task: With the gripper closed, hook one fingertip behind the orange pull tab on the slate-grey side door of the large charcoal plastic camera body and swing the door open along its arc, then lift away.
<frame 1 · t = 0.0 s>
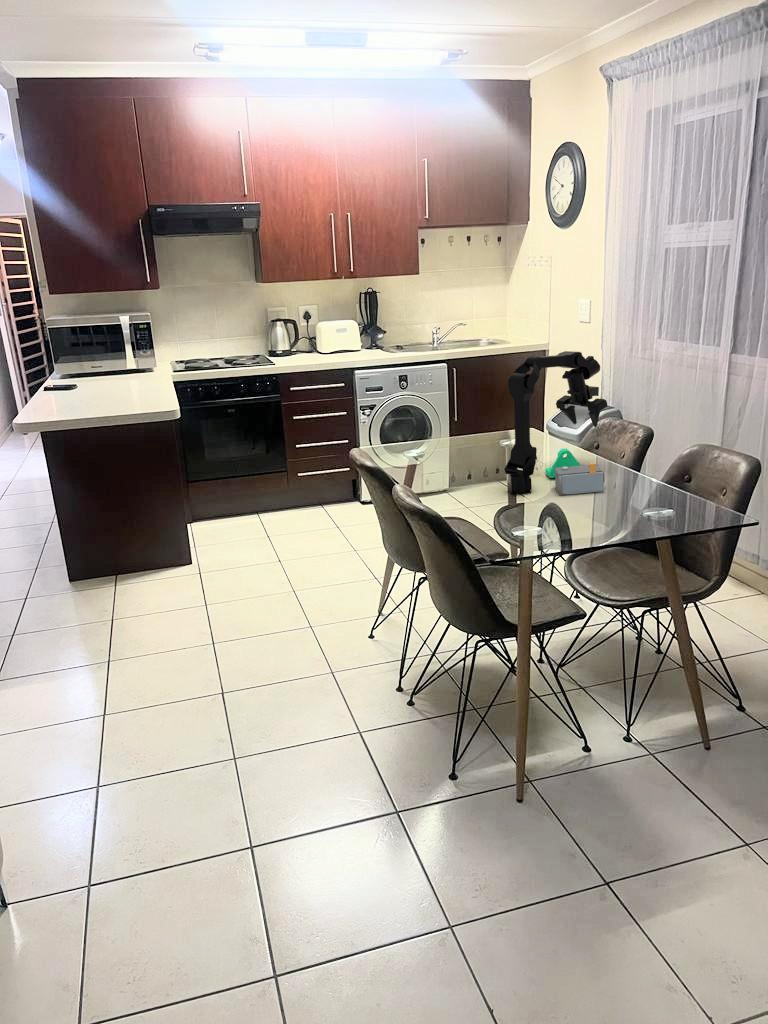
hand: (585, 425, 269), 15 cm above the table, tool pointing down, fingers open, 9 cm apart
camera body: (578, 489, 251), on the table
side door: (580, 478, 245), point 5 cm above the table, hinge at 0.0°
camera mount: (564, 476, 268), on the table
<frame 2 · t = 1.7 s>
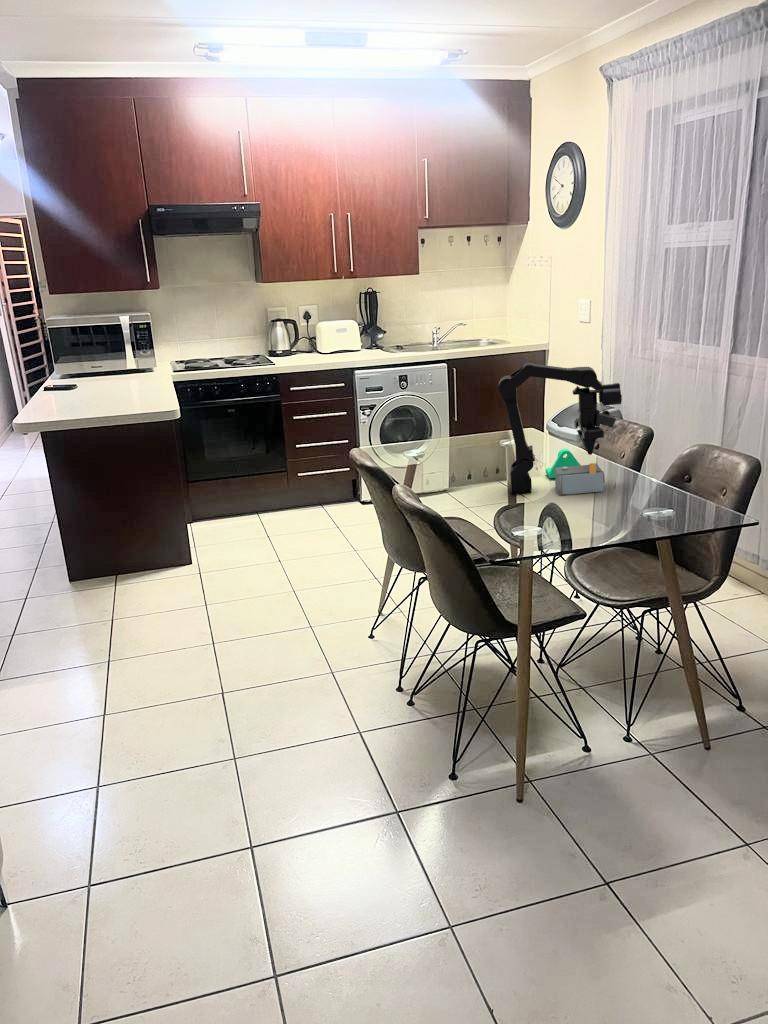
hand: (589, 453, 248), 12 cm above the table, tool pointing down, fingers open, 3 cm apart
nothing on the table moved.
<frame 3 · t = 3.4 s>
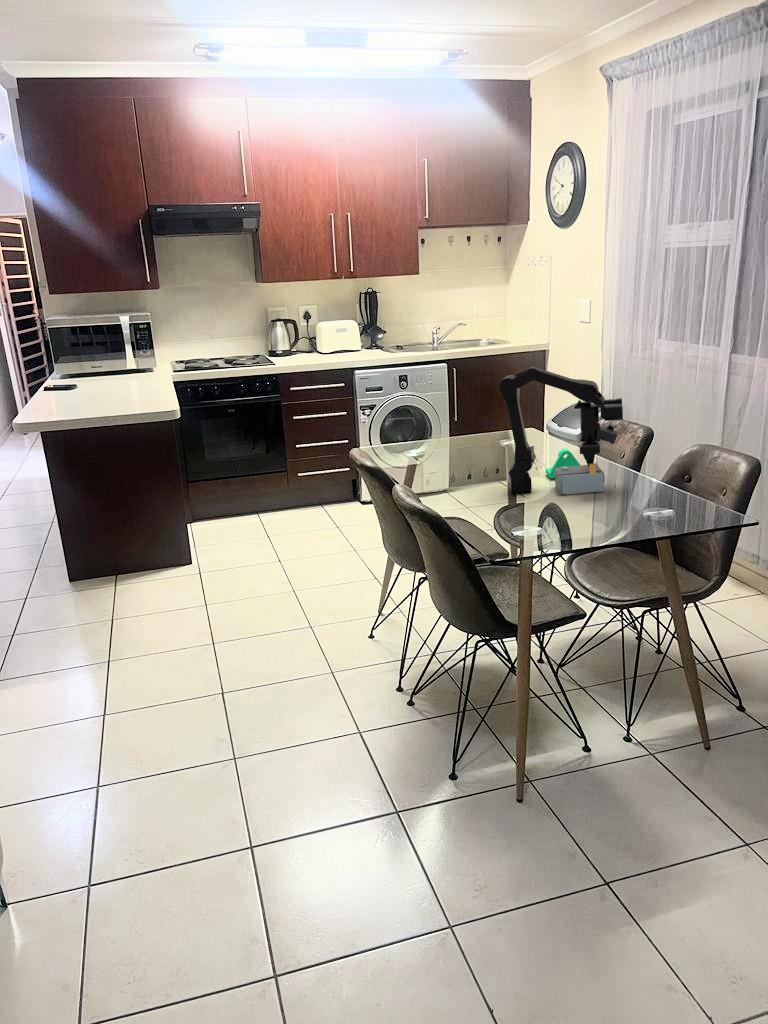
hand: (590, 467, 246), 8 cm above the table, tool pointing down, fingers closed
side door: (580, 478, 245), point 5 cm above the table, hinge at 0.0°, touching gripper
everything else where it was.
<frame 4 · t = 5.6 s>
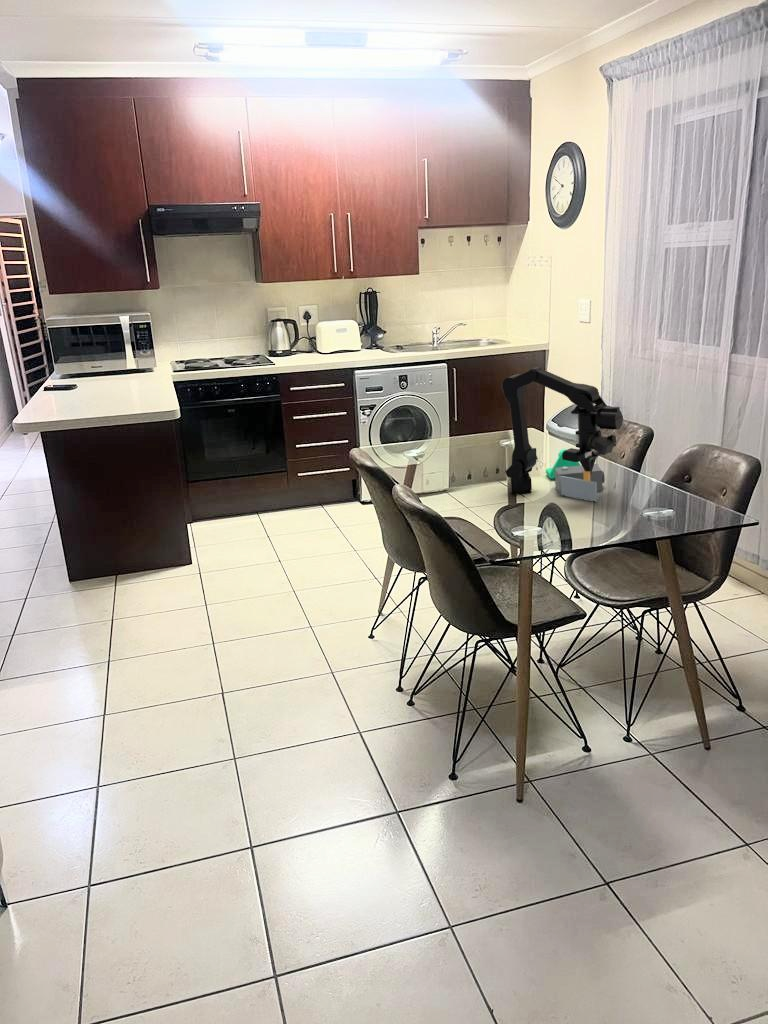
hand: (588, 475, 238), 8 cm above the table, tool pointing down, fingers closed
side door: (577, 483, 241), point 5 cm above the table, hinge at 46.5°, touching gripper
everything else where it was.
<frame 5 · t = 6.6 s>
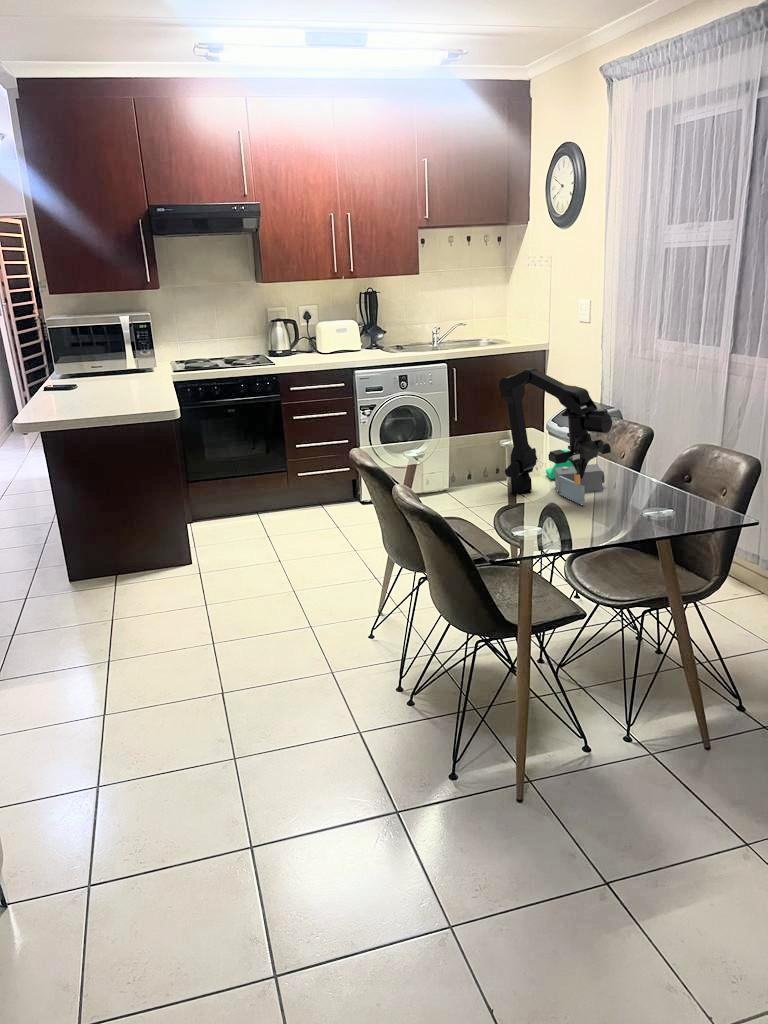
hand: (581, 478, 236), 8 cm above the table, tool pointing down, fingers closed
side door: (571, 485, 240), point 5 cm above the table, hinge at 68.6°, touching gripper
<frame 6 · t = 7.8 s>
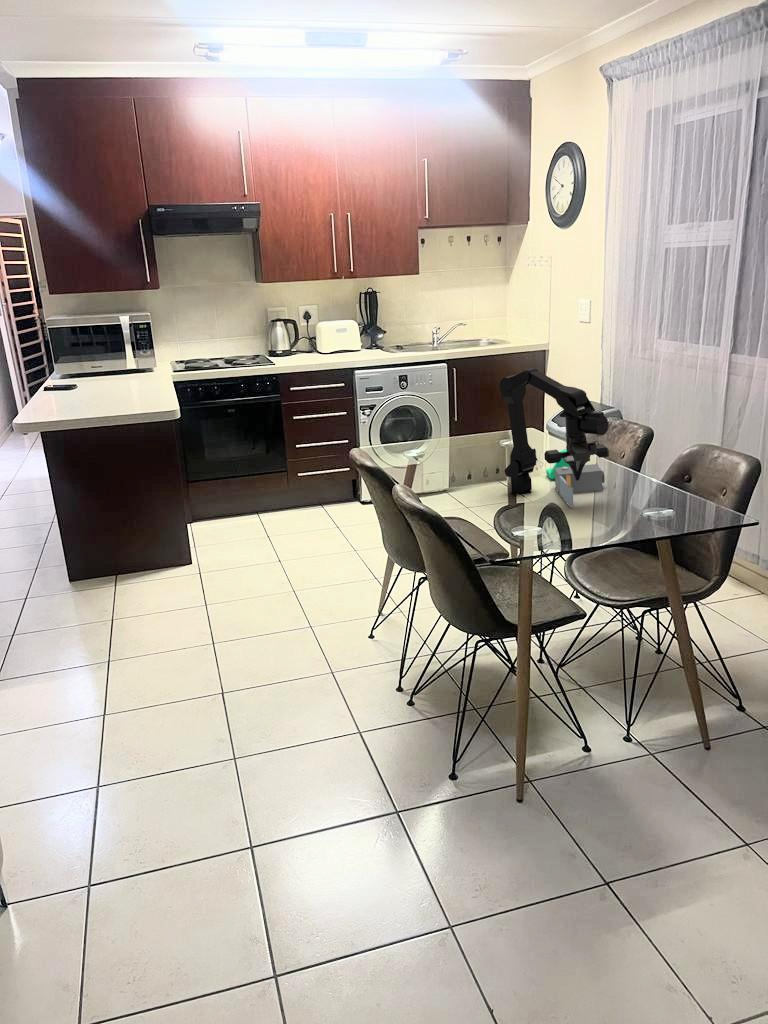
hand: (577, 480, 235), 8 cm above the table, tool pointing down, fingers closed
side door: (565, 486, 240), point 5 cm above the table, hinge at 84.5°
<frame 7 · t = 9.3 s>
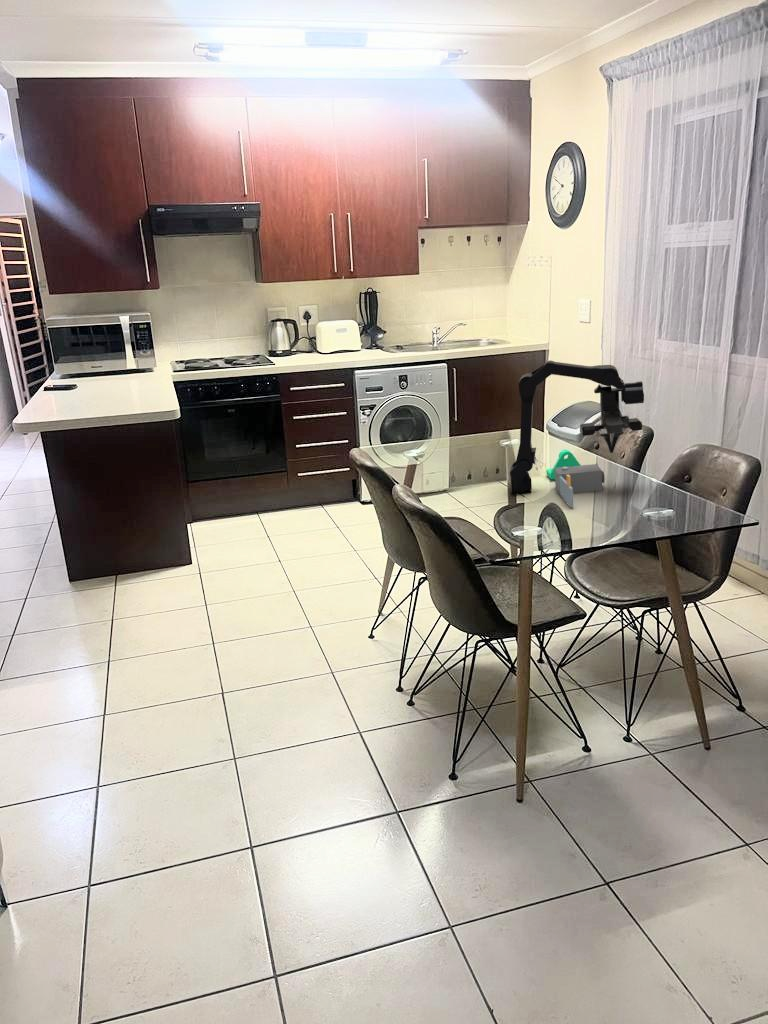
hand: (611, 452, 244), 12 cm above the table, tool pointing down, fingers closed
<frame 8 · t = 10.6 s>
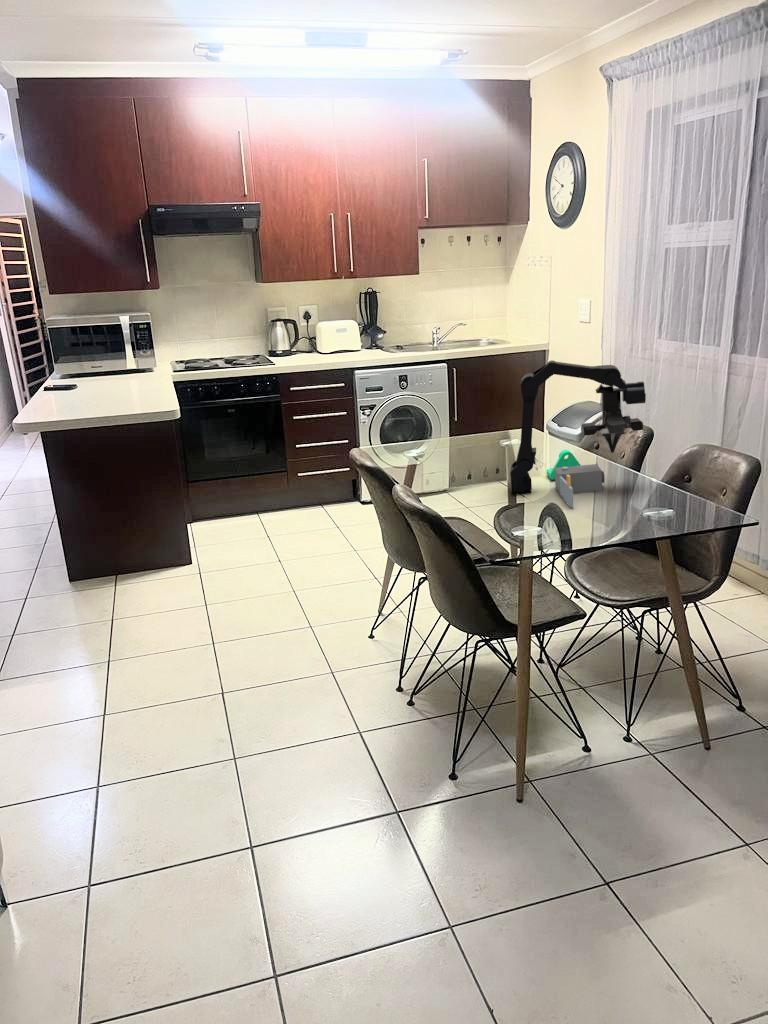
hand: (612, 452, 245), 12 cm above the table, tool pointing down, fingers closed
at the end: side door at +84° (first picture: +0°); camera mount moved 2.0 cm from its start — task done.
